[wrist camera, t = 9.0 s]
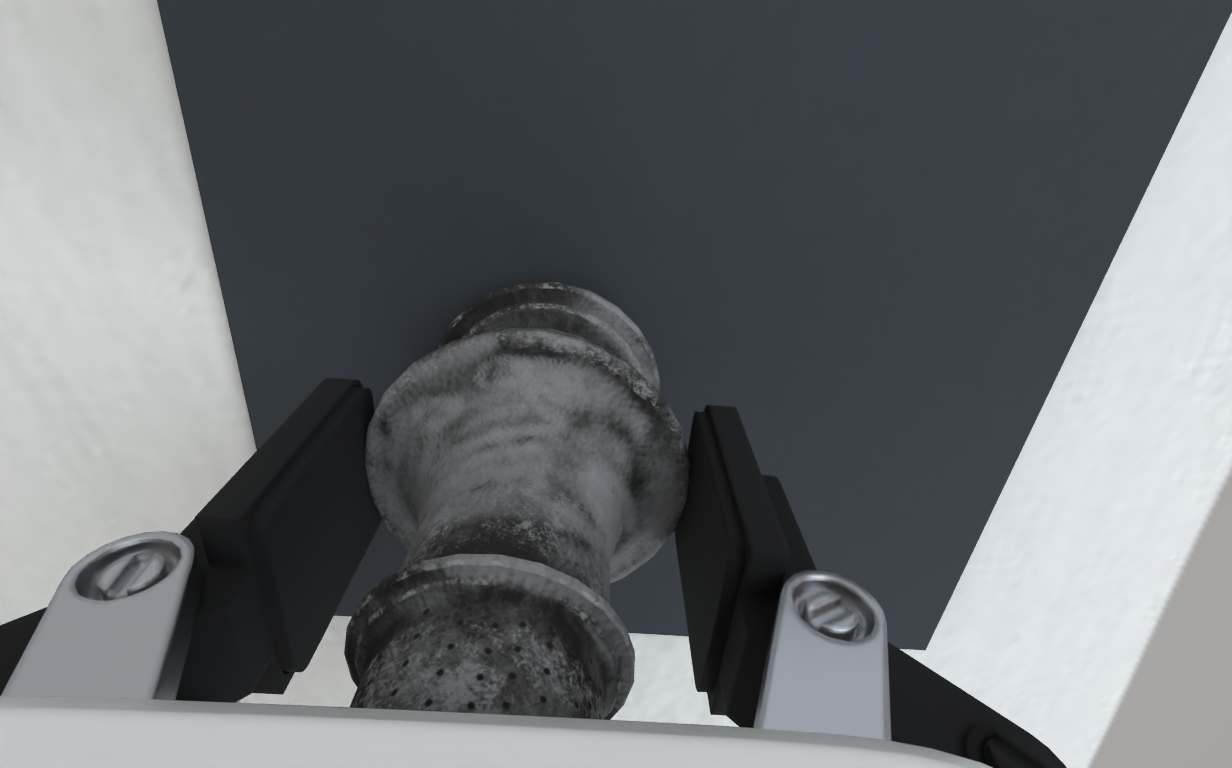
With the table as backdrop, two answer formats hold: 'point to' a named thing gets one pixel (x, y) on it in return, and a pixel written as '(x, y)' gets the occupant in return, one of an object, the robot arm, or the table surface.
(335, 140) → the mat
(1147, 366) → the table surface
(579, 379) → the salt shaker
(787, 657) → the robot arm
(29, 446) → the table surface
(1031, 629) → the table surface
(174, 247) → the table surface
